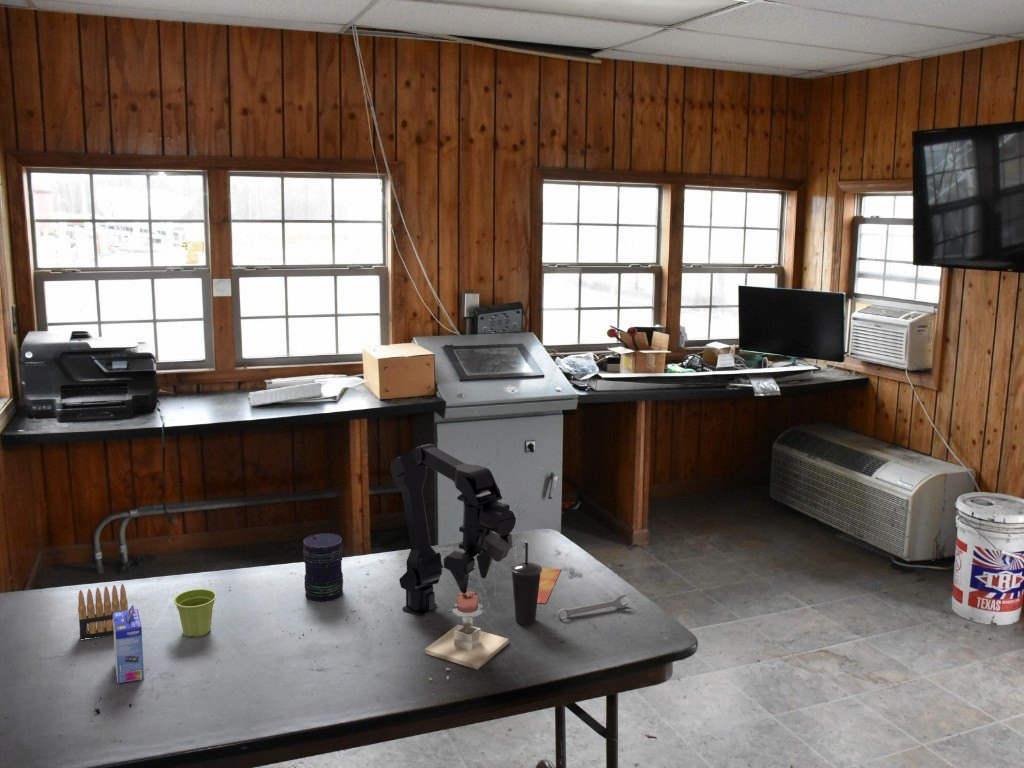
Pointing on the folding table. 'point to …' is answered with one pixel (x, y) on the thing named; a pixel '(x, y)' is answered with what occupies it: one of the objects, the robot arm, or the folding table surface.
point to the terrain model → (547, 583)
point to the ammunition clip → (100, 612)
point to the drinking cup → (525, 589)
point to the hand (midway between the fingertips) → (473, 585)
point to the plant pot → (195, 611)
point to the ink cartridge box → (128, 646)
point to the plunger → (467, 607)
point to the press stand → (467, 646)
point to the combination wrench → (594, 607)
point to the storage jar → (323, 567)
